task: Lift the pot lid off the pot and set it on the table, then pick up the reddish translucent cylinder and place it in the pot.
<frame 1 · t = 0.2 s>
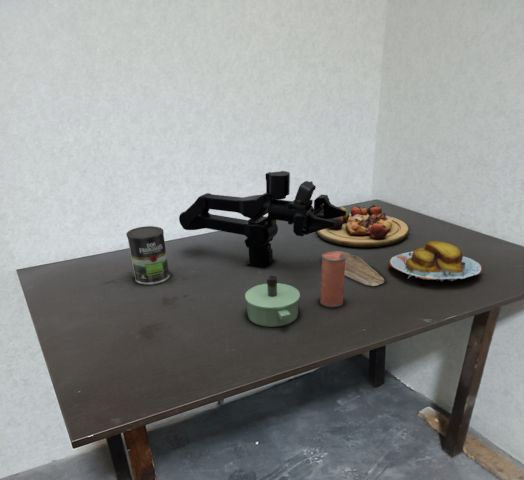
hand: (340, 218, 131), 17 cm above the table, tool horizontal, fingers open, 9 cm apart
coffee can: (152, 278, 144), on the table
wooden plate: (361, 233, 171), on the table
reddish translucent cylinder: (331, 302, 126), on the table
brown flat tapered piece: (353, 269, 144), on the table
pot: (272, 314, 122), on the table
pot lid: (272, 296, 119), point 5 cm above the table, touching pot
food on plate: (433, 272, 141), on the table
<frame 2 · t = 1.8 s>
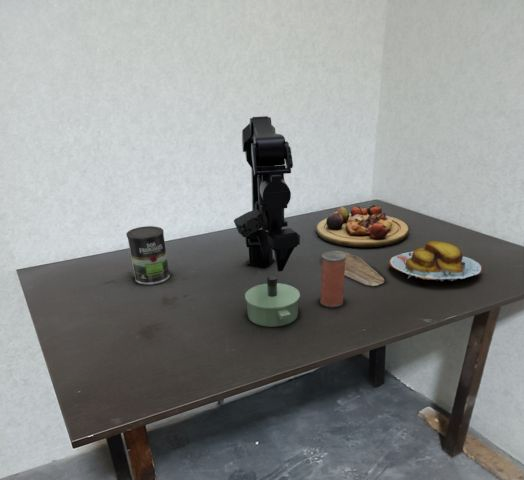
hand: (272, 264, 115), 13 cm above the table, tool pointing down, fingers open, 9 cm apart
nothing on the table moved.
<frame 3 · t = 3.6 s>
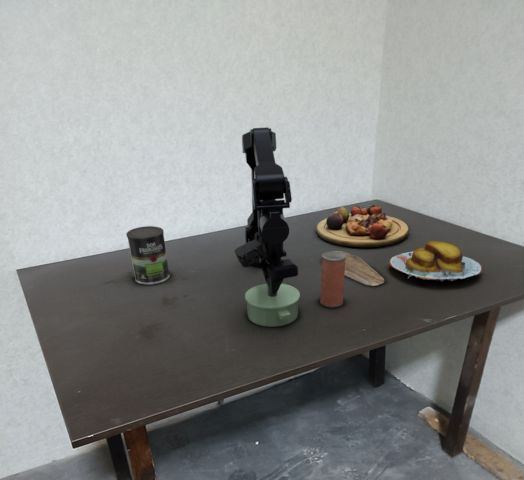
hand: (272, 291, 119), 6 cm above the table, tool pointing down, fingers closed on pot lid, 2 cm apart
pot lid: (272, 296, 119), point 5 cm above the table, touching gripper, pot
everything else where it was.
when the fingers open (2 cm above the table, at t = 8.8 s): pot lid stays where it is, point 1 cm above the table.
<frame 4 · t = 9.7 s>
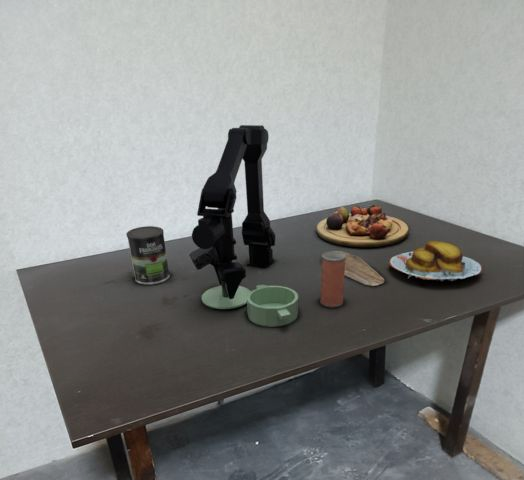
hand: (226, 291, 129), 2 cm above the table, tool pointing down, fingers open, 9 cm apart
pot lid: (227, 297, 130), point 1 cm above the table
everything else where it was.
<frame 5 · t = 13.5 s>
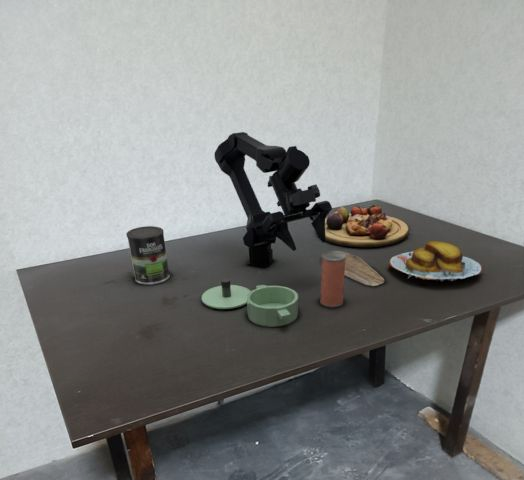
hand: (309, 246, 125), 13 cm above the table, tool tilted 45°, fingers open, 9 cm apart
nothing on the table moved.
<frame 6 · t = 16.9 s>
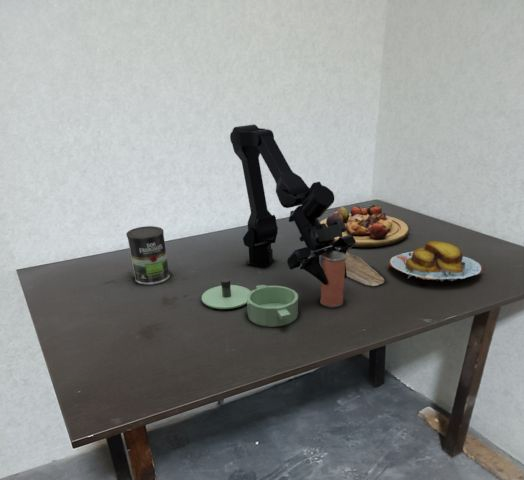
hand: (336, 281, 122), 7 cm above the table, tool tilted 45°, fingers closed on reddish translucent cylinder, 6 cm apart
reddish translucent cylinder: (331, 302, 126), on the table, touching gripper
everything else where it was.
when the fingers open (7 cm above the table, at t = 24.1 s): reddish translucent cylinder stays where it is, resting on pot.
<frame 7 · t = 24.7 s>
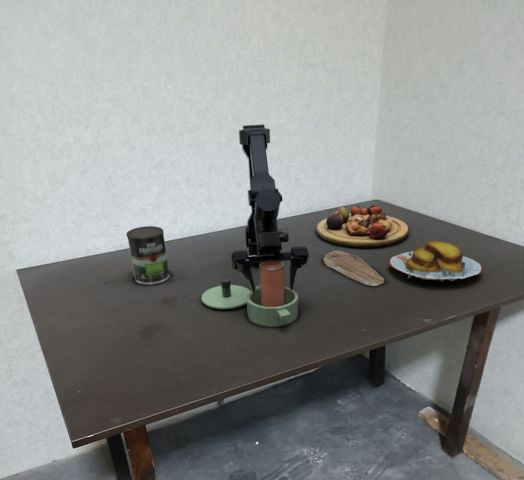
hand: (272, 290, 117), 7 cm above the table, tool tilted 45°, fingers open, 9 cm apart
reddish translucent cylinder: (272, 312, 122), resting on pot
everything else where it was.
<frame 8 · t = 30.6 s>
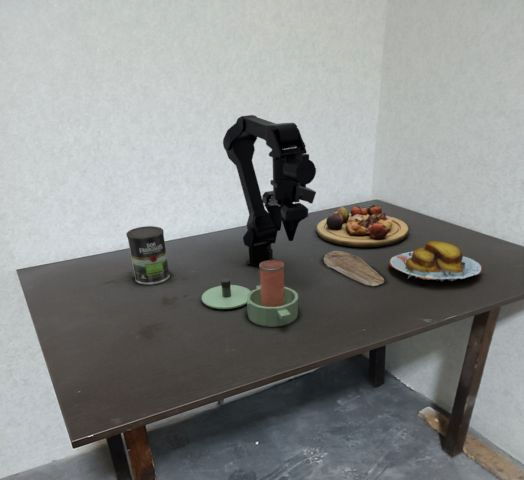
hand: (284, 235, 133), 13 cm above the table, tool pointing down, fingers open, 9 cm apart
nothing on the table moved.
at the end: pot lid inside the target area (0.0 cm from its centre), point 0.6 cm above the table; reddish translucent cylinder 0.1 cm off-centre in the pot, point 0.4 cm above the pot's base; reddish translucent cylinder tilted 0° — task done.
